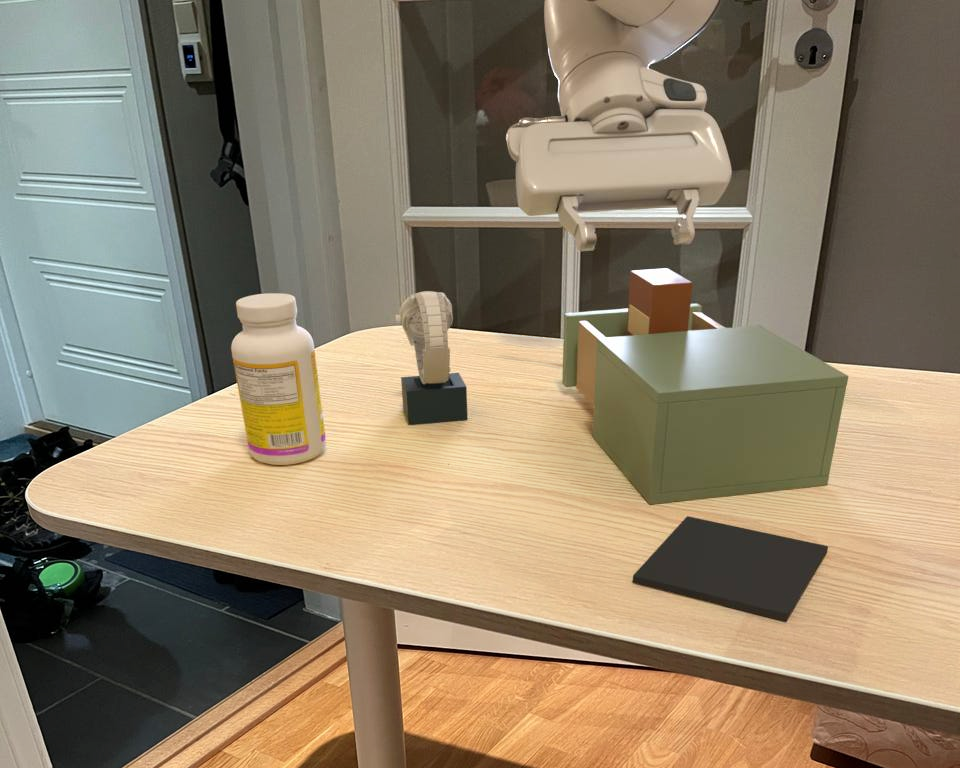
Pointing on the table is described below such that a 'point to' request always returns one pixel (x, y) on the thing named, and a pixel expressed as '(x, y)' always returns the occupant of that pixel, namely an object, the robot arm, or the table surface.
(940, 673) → the table surface
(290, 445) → the supplement bottle
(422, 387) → the watch
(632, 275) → the brown rectangular block
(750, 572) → the slate mat
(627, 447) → the cabinet
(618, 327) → the drawer
